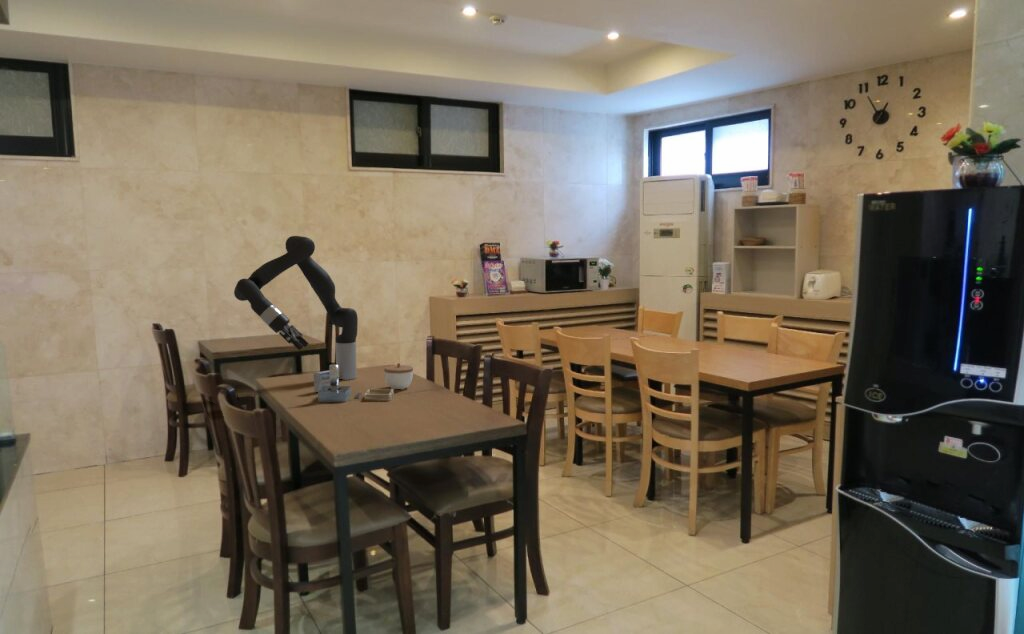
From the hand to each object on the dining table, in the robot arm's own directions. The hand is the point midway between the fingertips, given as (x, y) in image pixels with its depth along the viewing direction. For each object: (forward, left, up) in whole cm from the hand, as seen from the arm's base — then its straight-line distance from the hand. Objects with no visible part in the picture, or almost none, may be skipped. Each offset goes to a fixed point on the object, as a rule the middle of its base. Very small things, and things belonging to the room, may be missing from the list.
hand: (304, 346), depth 274 cm
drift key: (-4, +21, -22) cm, 30 cm away
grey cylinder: (0, +12, -22) cm, 24 cm away
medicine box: (-14, +5, -22) cm, 26 cm away
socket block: (0, +12, -22) cm, 24 cm away
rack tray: (-1, +30, -22) cm, 37 cm away
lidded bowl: (-20, +36, -22) cm, 46 cm away
